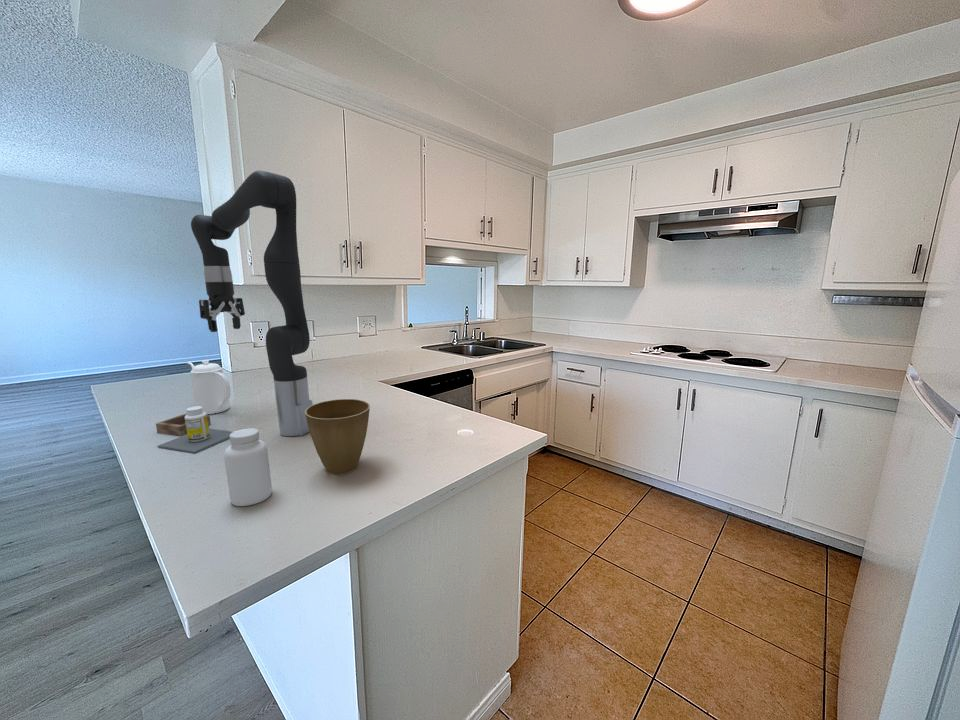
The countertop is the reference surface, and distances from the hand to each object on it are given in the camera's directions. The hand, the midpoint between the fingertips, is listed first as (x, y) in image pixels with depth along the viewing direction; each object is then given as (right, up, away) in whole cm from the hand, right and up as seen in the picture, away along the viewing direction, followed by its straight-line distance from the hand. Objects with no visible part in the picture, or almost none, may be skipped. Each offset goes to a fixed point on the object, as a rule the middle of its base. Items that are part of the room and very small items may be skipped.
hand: (225, 330), depth 129 cm
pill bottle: (+35, -40, -44) cm, 69 cm away
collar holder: (-10, -32, -5) cm, 34 cm away
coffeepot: (-13, -29, +12) cm, 33 cm away
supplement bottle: (+2, -33, -15) cm, 37 cm away
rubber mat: (+2, -34, -15) cm, 37 cm away
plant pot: (+50, -37, -31) cm, 70 cm away
